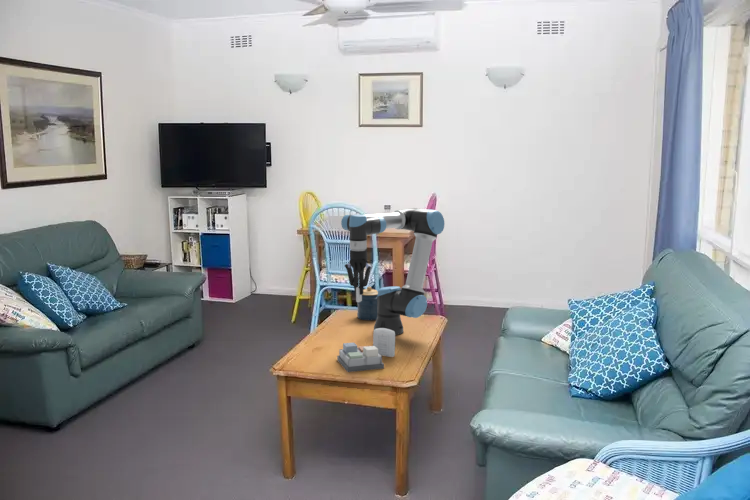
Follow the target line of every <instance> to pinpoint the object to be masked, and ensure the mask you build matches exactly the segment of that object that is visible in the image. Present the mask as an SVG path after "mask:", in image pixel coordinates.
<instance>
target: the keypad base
mask: <svg viewBox="0 0 750 500" xmlns="http://www.w3.org/2000/svg"><path fill="white" fill-rule="evenodd" d="M338 350H339V351H338V355H337V356H336V357H337V358H336V359H337V362H338V363H339V364H340V365H341V366H342V368H343V369H344V370H345V371H346V372H347V373H354V372H361V371H363V372H364V371H373V370H380V369H381V370H383V369H385V363H384V362H383V356H381V355H380V354H379V353H378V356H376V357H366V356H365V355H363V352H360V351H359V350H358V347H357V352H360V353H361V354H362V358H355V359H350V358H349V357H348V354H345V353H344V351H343V348H342V349H341V348H340V349H338Z"/></svg>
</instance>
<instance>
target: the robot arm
mask: <svg viewBox="0 0 750 500" xmlns="http://www.w3.org/2000/svg"><path fill="white" fill-rule="evenodd" d="M340 224H341V228H342V229H344V231H348V232H349V261H348V263H346V264H344V267H345V269H346V272H347V276H348V281H349V284H350V286H352V287H353V288H354V289H353V290H354V291H353V292H354V295H355V302H356V303H357V302H360V301H362V294H363V290H364V288H365V287H368V284H369V279H370V274H371V271H372V269H373V265H370V264H369V263H368V260H367V259H368V253H367V252H368V250H367V249H368V245H367V244H368V239H367V238H368V237H367V236H369V235H376V234H377V235H378V234H381V233H383V232H385V231H386V229H396V230H405V231H410V232H413V235H414V237H415V240H414V245H413V249H412V252H411V253H412V255H411V258H410V263H409V266H408V271H407V277H406V280H405V284H404V285H403V286H402V287H400V286H396V285H394V286H383V287H380V288H379V289H377V291H378V296H377V319H376V320H375V323H374V325H373V331H374V330H375V329H377V328H387V329H390V330H393V331H394V332H395V336H397V335H401V334H403V333H404V325H403V322H402V319H401V316H403V317H404V316H405V317H407V318H413V319H417V318H420V317H421V316H422V315H424V313H426V310H427V307H428V299H427V297H426V296H425V290H424V288H423V287H424V283H425V280H426V279H425V278H426V275H427V269H428V264H429V261H430V255H431V251H432V246H433V242H434V241H435V240H437V238H438V235H440V234H441V233H443V231H444V229H445V219H444V215H443V213H442V212H440V211H439V210H437V209H436V210H435V209H432V208H431V209H430V208H429V209H428V208H427V209H426V208H417V207H416V208H415V207H413V208H406V209H398V210H394V211H393V212H384V213H383V212H382V213H381V212H380V213H369V214H366V213H365V214H359V213H358V214H346V215H344V216H342V218H341V222H340Z"/></svg>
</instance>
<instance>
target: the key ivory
mask: <svg viewBox="0 0 750 500" xmlns="http://www.w3.org/2000/svg"><path fill="white" fill-rule="evenodd" d="M365 346H366V347H363V355H365V356H366V357H376V356H378V349H377V348H376V347H375V346H373V345H365Z"/></svg>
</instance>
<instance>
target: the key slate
mask: <svg viewBox="0 0 750 500" xmlns="http://www.w3.org/2000/svg"><path fill="white" fill-rule="evenodd" d="M357 348H358V345H357V343H355V342H346V343H345V342H344V343H343V344H342V349H343V351H344V353H345V354H348V353H350V352H357Z"/></svg>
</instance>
